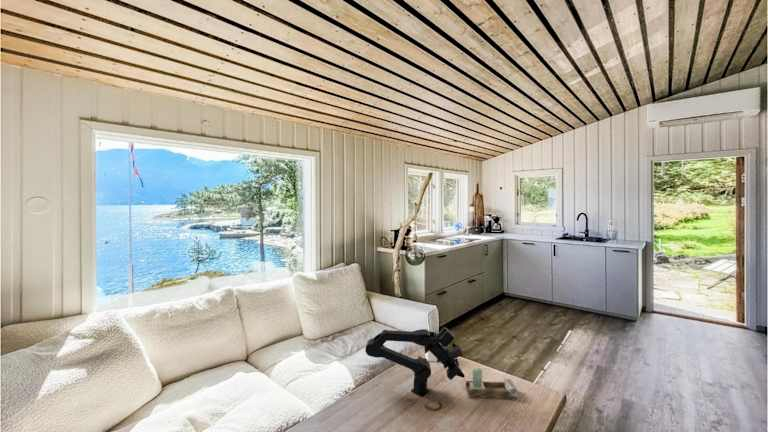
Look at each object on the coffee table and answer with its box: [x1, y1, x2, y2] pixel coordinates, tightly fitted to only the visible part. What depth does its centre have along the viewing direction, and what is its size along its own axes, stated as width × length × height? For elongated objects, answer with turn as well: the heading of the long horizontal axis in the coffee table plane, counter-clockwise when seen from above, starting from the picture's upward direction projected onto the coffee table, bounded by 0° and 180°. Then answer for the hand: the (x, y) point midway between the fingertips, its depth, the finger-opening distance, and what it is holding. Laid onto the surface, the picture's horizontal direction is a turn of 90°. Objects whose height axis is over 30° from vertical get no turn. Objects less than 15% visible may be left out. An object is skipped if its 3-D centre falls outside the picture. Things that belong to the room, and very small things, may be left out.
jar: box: [424, 337, 438, 363], centre depth 182 cm, size 9×8×12 cm
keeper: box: [470, 367, 485, 390], centre depth 147 cm, size 6×5×9 cm
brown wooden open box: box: [465, 378, 518, 401], centre depth 147 cm, size 21×8×5 cm, turn 86°
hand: (464, 376), depth 147 cm, fingers closed
